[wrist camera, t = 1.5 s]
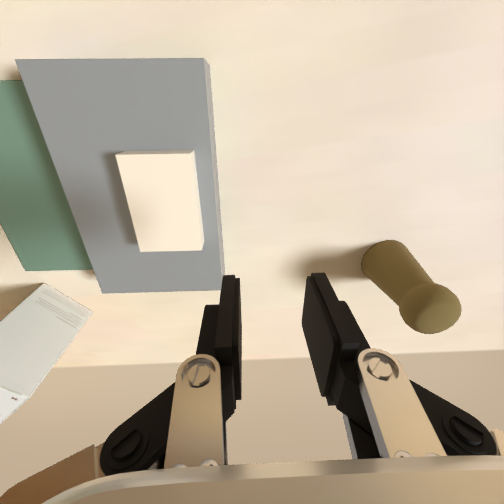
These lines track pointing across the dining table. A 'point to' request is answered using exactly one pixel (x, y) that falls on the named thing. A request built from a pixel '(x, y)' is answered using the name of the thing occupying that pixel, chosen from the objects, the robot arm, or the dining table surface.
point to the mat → (34, 191)
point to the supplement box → (35, 343)
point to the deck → (129, 139)
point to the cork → (411, 288)
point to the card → (163, 199)
